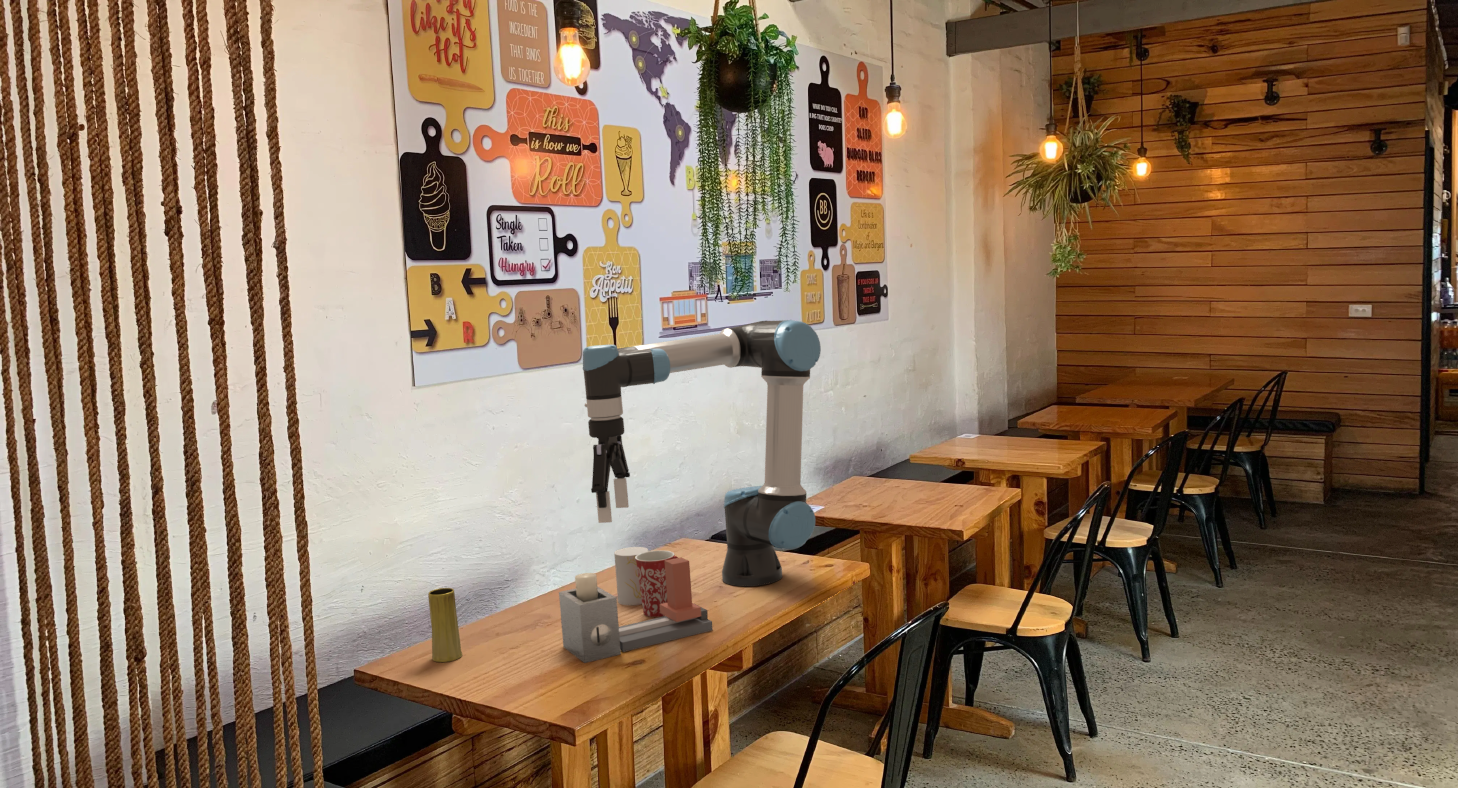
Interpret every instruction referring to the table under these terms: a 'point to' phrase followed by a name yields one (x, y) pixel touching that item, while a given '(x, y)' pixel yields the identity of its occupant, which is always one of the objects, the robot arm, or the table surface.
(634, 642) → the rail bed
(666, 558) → the mug
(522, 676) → the table surface
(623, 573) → the cup
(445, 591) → the vase
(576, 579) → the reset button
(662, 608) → the carriage
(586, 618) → the grey box holder
